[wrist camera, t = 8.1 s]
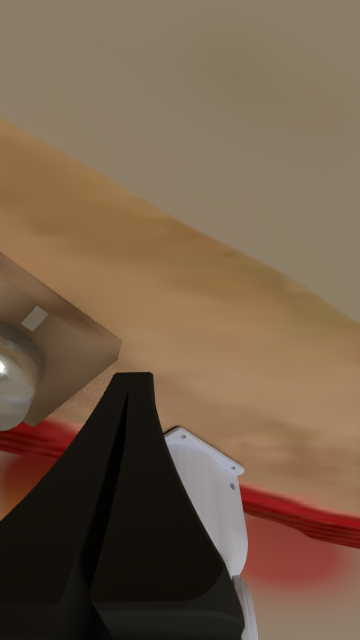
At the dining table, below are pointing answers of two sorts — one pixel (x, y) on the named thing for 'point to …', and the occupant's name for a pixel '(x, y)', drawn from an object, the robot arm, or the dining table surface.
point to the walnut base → (54, 338)
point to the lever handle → (18, 375)
